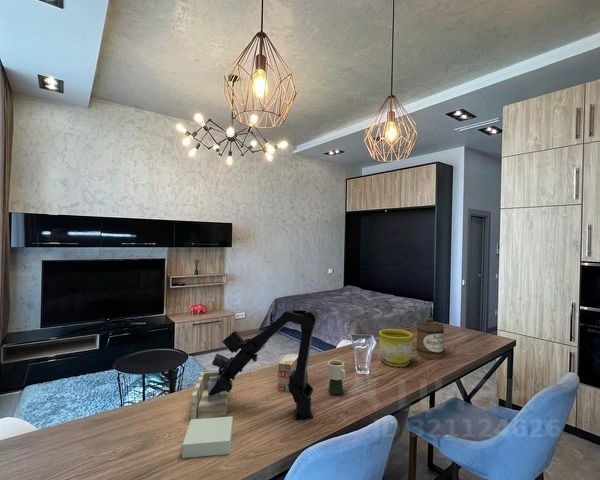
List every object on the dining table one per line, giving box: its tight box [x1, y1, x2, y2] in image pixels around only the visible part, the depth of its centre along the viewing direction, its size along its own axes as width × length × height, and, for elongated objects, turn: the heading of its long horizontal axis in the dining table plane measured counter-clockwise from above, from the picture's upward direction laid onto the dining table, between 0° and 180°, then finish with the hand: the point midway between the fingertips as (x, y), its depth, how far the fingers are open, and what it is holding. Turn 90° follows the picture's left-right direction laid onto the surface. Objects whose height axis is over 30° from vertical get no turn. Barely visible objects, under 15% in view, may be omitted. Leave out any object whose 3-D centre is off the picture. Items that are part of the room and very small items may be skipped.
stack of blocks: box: [277, 353, 298, 393], centre depth 150 cm, size 21×6×12 cm, turn 164°
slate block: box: [208, 376, 220, 402], centre depth 125 cm, size 6×4×7 cm, turn 9°
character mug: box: [326, 359, 346, 395], centre depth 138 cm, size 11×7×13 cm, turn 38°
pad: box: [181, 416, 234, 459], centre depth 103 cm, size 14×14×4 cm
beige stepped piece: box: [190, 370, 232, 420], centre depth 127 cm, size 22×13×9 cm, turn 9°
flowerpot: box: [378, 328, 414, 368], centre depth 174 cm, size 18×18×16 cm
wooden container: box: [416, 317, 445, 360], centre depth 187 cm, size 15×15×22 cm
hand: (210, 391), depth 124 cm, fingers closed on slate block, 6 cm apart
